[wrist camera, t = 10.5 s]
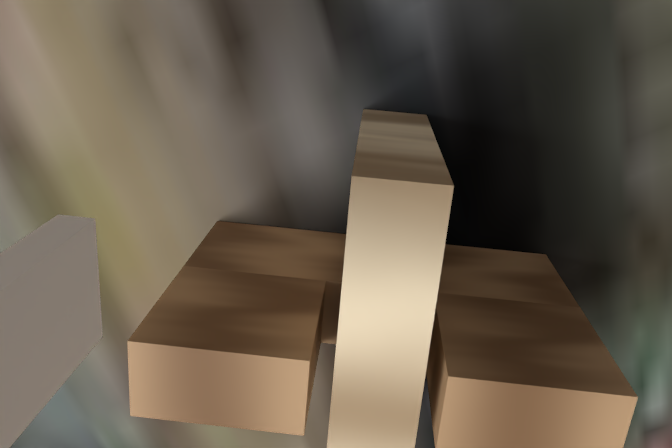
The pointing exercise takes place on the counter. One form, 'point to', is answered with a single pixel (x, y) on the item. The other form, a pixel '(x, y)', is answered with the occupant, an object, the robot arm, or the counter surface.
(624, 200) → the counter surface
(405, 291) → the maple plate
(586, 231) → the counter surface
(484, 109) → the counter surface
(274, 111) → the counter surface
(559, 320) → the walnut board
